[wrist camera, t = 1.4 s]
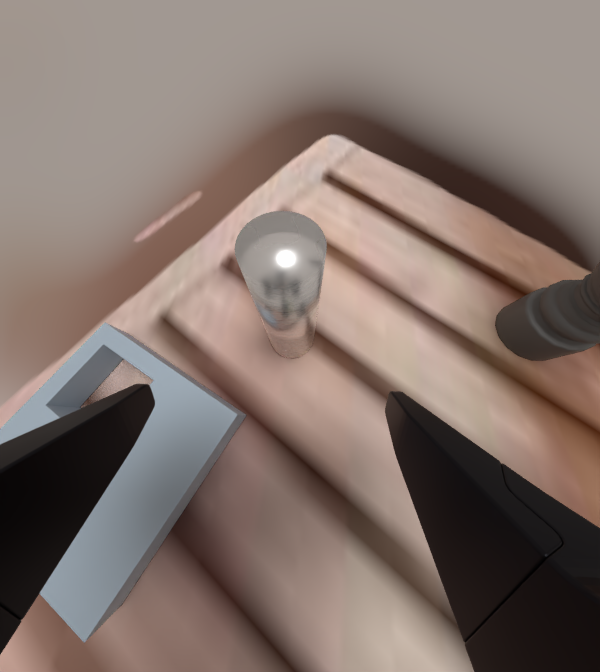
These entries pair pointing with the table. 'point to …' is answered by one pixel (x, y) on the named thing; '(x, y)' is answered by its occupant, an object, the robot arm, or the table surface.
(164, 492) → the jig plate
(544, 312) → the candle holder
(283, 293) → the polished metal rod
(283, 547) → the table surface
